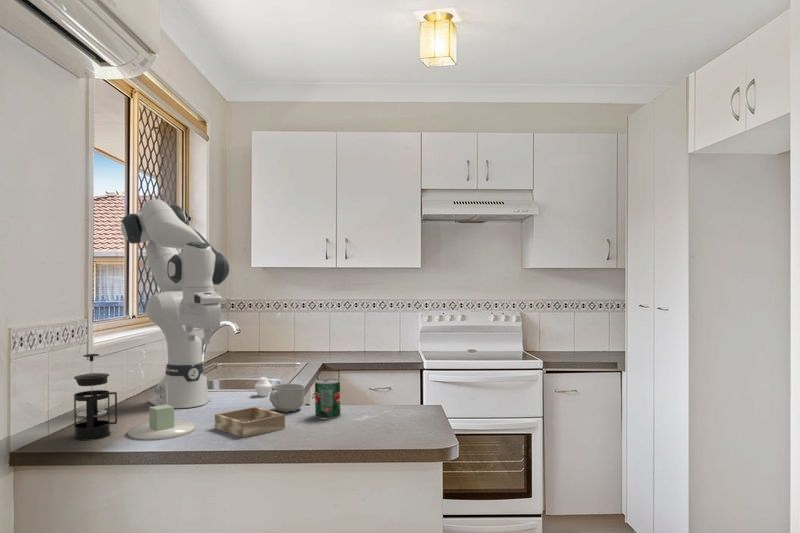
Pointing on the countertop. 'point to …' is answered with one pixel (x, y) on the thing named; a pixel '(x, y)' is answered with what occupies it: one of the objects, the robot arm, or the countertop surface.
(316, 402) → the canned tomato
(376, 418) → the countertop surface
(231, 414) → the wooden frame
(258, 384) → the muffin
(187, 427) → the white round dish
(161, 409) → the block
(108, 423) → the french press
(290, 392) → the teacup
